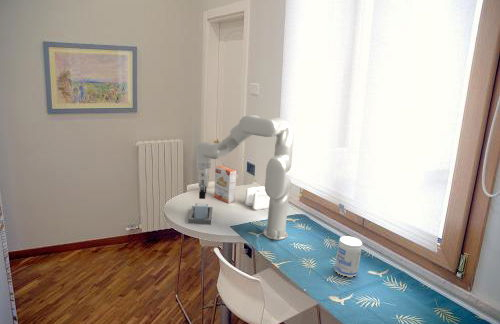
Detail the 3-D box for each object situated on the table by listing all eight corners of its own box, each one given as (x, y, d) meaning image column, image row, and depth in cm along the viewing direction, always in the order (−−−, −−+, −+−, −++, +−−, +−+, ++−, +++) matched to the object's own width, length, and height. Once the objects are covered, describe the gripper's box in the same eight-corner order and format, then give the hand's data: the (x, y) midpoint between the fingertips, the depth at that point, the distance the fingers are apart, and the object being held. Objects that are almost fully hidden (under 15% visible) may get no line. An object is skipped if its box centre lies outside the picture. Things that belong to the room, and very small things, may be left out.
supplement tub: (332, 274, 155) (336, 242, 152) (336, 264, 164) (341, 233, 160) (355, 280, 151) (360, 247, 148) (359, 270, 160) (364, 239, 157)
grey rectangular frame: (210, 224, 196) (211, 220, 195) (188, 223, 195) (188, 219, 195) (212, 211, 215) (212, 206, 215) (191, 209, 215) (191, 205, 214)
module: (207, 219, 203) (207, 206, 202) (194, 218, 203) (194, 206, 201) (207, 215, 208) (208, 203, 206) (195, 215, 207) (195, 202, 206)
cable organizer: (264, 202, 237) (266, 185, 234) (274, 208, 228) (276, 190, 225) (244, 205, 228) (246, 187, 226) (254, 211, 220) (255, 193, 217)
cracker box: (213, 197, 239) (215, 166, 234) (220, 195, 243) (222, 165, 238) (227, 203, 229) (229, 171, 225) (234, 202, 234) (237, 170, 229)
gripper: (209, 169, 190) (208, 201, 194) (211, 162, 207) (210, 191, 211) (195, 169, 190) (194, 200, 194) (197, 161, 207) (197, 190, 210)
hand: (202, 195), depth 202 cm, fingers open, 9 cm apart
